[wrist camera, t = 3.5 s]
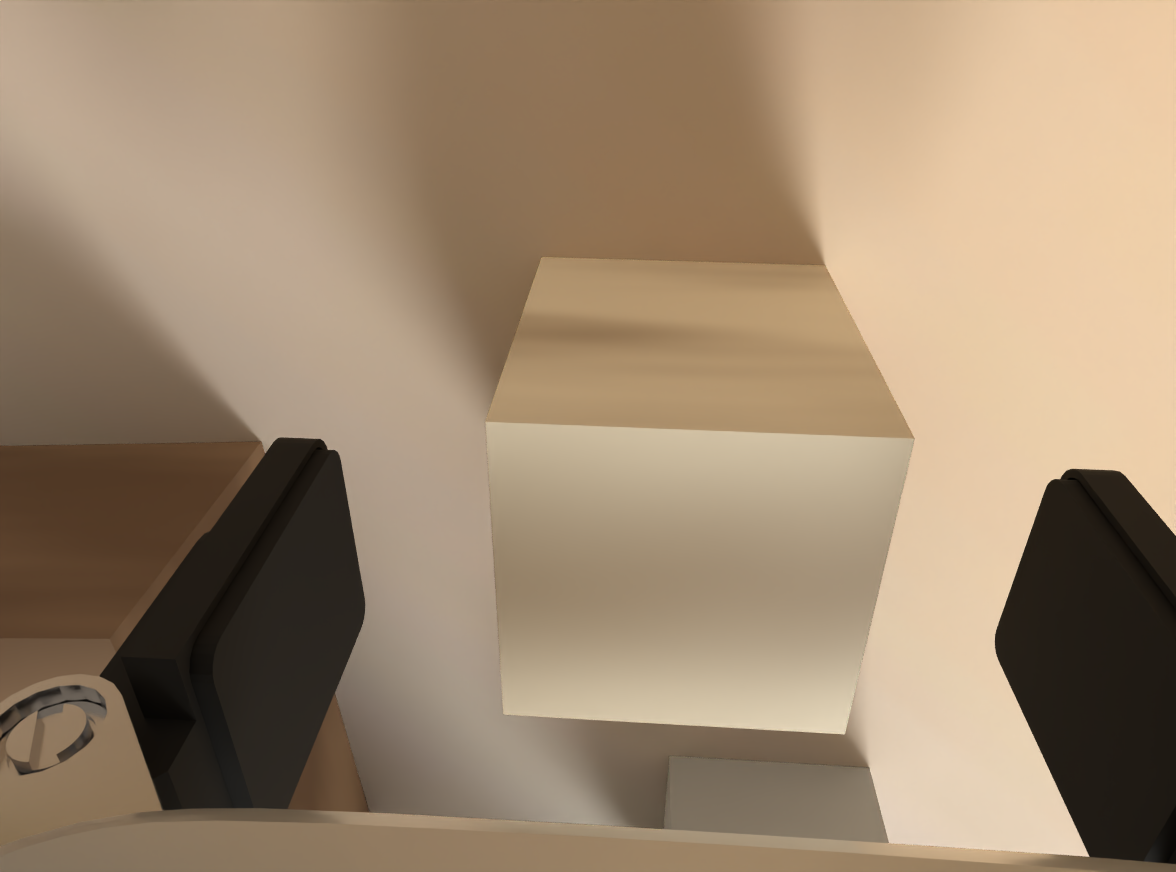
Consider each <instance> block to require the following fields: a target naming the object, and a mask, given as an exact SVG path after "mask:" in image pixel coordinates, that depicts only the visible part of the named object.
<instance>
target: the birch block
mask: <svg viewBox="0 0 1176 872" xmlns="http://www.w3.org/2000/svg"><path fill="white" fill-rule="evenodd" d="M485 426H486V443H487V459H488V475H489V491H490V507H491V524H492V540H493V556H494V572H495V589H496V605H497V621H498V637H499V653H500V670H501V686H502V702H503V715H517V716H534V717H551V718H569V719H586V720H604V721H621V722H639V723H656V724H673V725H691V726H708V727H726V728H743V729H761V730H778V731H795V732H813V733H830V734H845V732H846V728H847V723H848V719H849V715H850V711H851V707H852V702H853V698H854V694H855V690H856V685H857V681H858V677H859V673H860V668H861V664H862V660H863V656H864V651H865V647H866V643H867V639H868V635H869V630H870V626H871V622H872V618H873V613H874V609H875V605H876V601H877V596H878V592H879V588H880V584H881V579H882V575H883V571H884V567H885V563H886V558H887V554H888V550H889V546H890V541H891V537H892V533H893V529H894V524H895V520H896V516H897V512H898V507H899V503H900V499H901V495H902V490H903V486H904V482H905V478H906V474H907V469H908V465H909V461H910V457H911V452H912V448H913V444H914V440H915V438H914V436H913V434H912V432H911V431H910V429H909V427H908V425H907V423H906V421H905V419H904V417H903V415H902V413H901V411H900V409H899V407H898V405H897V403H896V401H895V400H894V398H893V396H892V394H891V392H890V390H889V388H888V386H887V384H886V382H885V380H884V378H883V376H882V374H881V372H880V370H879V369H878V367H877V365H876V363H875V361H874V359H873V357H872V355H871V353H870V351H869V349H868V347H867V345H866V343H865V341H864V340H863V338H862V336H861V334H860V332H859V330H858V328H857V326H856V324H855V322H854V320H853V318H852V316H851V314H850V312H849V310H848V309H847V307H846V305H845V303H844V301H843V299H842V297H841V295H840V293H839V291H838V289H837V287H836V285H835V283H834V281H833V279H832V278H831V276H830V274H829V272H828V270H827V268H826V266H825V265H798V264H764V263H730V262H696V261H662V260H628V259H594V258H560V257H541V260H540V263H539V266H538V269H537V272H536V275H535V278H534V281H533V283H532V286H531V289H530V292H529V295H528V298H527V301H526V304H525V307H524V310H523V313H522V316H521V319H520V322H519V324H518V327H517V330H516V333H515V336H514V339H513V342H512V345H511V348H510V351H509V354H508V357H507V360H506V362H505V365H504V368H503V371H502V374H501V377H500V380H499V383H498V386H497V389H496V392H495V395H494V398H493V401H492V403H491V406H490V409H489V412H488V415H487V418H486V421H485Z"/></svg>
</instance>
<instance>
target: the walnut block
mask: <svg viewBox="0 0 1176 872" xmlns="http://www.w3.org/2000/svg"><path fill="white" fill-rule="evenodd" d="M264 455H265V453H264V449H263V446H262V442H211V443H150V444H89V445H29V446H0V703H1V702H2V701H4V700H5V699H6V698H8V697H9V696H11V695H13V694H15V693H17V692H19V691H21V690H23V689H25V688H27V687H29V686H31V685H33V684H35V683H38V682H41V681H45V680H48V679H51V678H55V677H58V676H66V675H75V674H85V675H93V676H100V674H101V673H102V672H103V670H104V669H105V667H106V666H107V665H108V663H109V662H110V660H111V659H112V658H113V656H114V655H115V654H116V652H117V651H118V649H119V648H120V647H121V645H122V644H123V643H124V641H125V640H126V638H127V637H128V636H129V634H130V633H131V632H132V630H133V629H134V627H135V626H136V625H137V623H138V622H139V620H140V619H141V618H142V616H143V615H144V614H145V612H146V611H147V609H148V608H149V607H150V605H151V604H152V603H153V601H154V600H155V598H156V597H157V596H158V594H159V593H160V592H161V590H162V589H163V587H164V586H165V585H166V583H167V582H168V580H169V579H170V578H171V576H172V575H173V574H174V572H175V571H176V569H177V568H178V567H179V565H180V564H181V563H182V561H183V560H184V558H185V557H186V556H187V554H188V553H189V552H190V550H191V549H192V547H193V546H194V545H195V543H196V542H197V541H198V540H199V538H200V537H201V536H202V535H203V534H204V533H206V532H209V531H210V530H211V529H212V528H213V526H214V525H215V524H216V522H217V521H218V519H219V518H220V517H221V515H222V514H223V512H224V511H225V510H226V508H227V507H228V505H229V504H230V503H231V501H232V500H233V498H234V497H235V496H236V494H237V493H238V491H239V490H240V489H241V487H242V486H243V484H244V483H245V482H246V480H247V479H248V477H249V476H250V475H251V473H252V472H253V470H254V469H255V468H256V466H257V465H258V463H259V462H260V461H261V459H262V458H263V456H264ZM288 809H293V810H318V811H343V812H368V813H370V812H369V809H368V806H367V802H366V799H365V795H364V792H363V788H362V785H361V782H360V778H359V775H358V771H357V768H356V764H355V761H354V758H353V754H352V751H351V747H350V744H349V740H348V737H347V734H346V730H345V727H344V723H343V720H342V717H341V713H340V710H339V706H338V703H337V699H336V696H335V694H334V696H333V699H332V701H331V703H330V706H329V708H328V711H327V713H326V716H325V718H324V721H323V723H322V726H321V728H320V730H319V733H318V735H317V738H316V740H315V743H314V745H313V748H312V750H311V753H310V755H309V757H308V760H307V762H306V765H305V767H304V770H303V772H302V775H301V777H300V780H299V782H298V785H297V787H296V789H295V792H294V794H293V797H292V799H291V802H290V804H289V807H288Z"/></svg>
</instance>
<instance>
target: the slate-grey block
mask: <svg viewBox="0 0 1176 872" xmlns="http://www.w3.org/2000/svg"><path fill="white" fill-rule="evenodd" d="M663 829H670V830H686V831H702V832H719V833H735V834H751V835H767V836H782V837H798V838H814V839H830V840H846V841H862V842H877V843H889V842H888V838H887V834H886V830H885V826H884V823H883V819H882V815H881V811H880V807H879V803H878V799H877V796H876V792H875V788H874V784H873V780H872V776H871V772H870V768H867V767H850V766H833V765H817V764H800V763H783V762H766V761H750V760H733V759H716V758H700V757H683V756H669V767H668V779H667V791H666V803H665V815H664V827H663Z"/></svg>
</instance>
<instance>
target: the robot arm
mask: <svg viewBox="0 0 1176 872" xmlns="http://www.w3.org/2000/svg"><path fill="white" fill-rule="evenodd" d="M364 614H365V598H364V592H363V586H362V581H361V575H360V569H359V563H358V558H357V552H356V546H355V540H354V535H353V529H352V523H351V517H350V511H349V506H348V500H347V494H346V488H345V483H344V477H343V471H342V465H341V460H340V456H339V454H338V452H337V451H335V450H327V446H326V445H325V443H324V441H322V440H321V439H305V438H278V439H277V440H275V441H274V442H273V444H272V445H271V447H270V448H269V449H268V451H267V452H266V454H265V455H264V456H263V458H262V459H261V461H260V462H259V463H258V465H257V466H256V468H255V469H254V470H253V472H252V473H251V475H250V476H249V477H248V479H247V480H246V482H245V483H244V484H243V486H242V487H241V489H240V490H239V491H238V493H237V494H236V496H235V497H234V498H233V500H232V501H231V503H230V504H229V505H228V507H227V508H226V510H225V511H224V512H223V514H222V515H221V517H220V518H219V519H218V521H217V522H216V524H215V525H214V526H213V528H212V529H211V530H210V531H209V532H206V533H204V534H203V535H202V536H201V537H200V538H199V540H198V541H197V542H196V543H195V545H194V546H193V547H192V549H191V550H190V552H189V553H188V554H187V556H186V557H185V558H184V560H183V561H182V563H181V564H180V565H179V567H178V568H177V569H176V571H175V572H174V574H173V575H172V576H171V578H170V579H169V580H168V582H167V583H166V585H165V586H164V587H163V589H162V590H161V592H160V593H159V594H158V596H157V597H156V598H155V600H154V601H153V603H152V604H151V605H150V607H149V608H148V609H147V611H146V612H145V614H144V615H143V616H142V618H141V619H140V620H139V622H138V623H137V625H136V626H135V627H134V629H133V630H132V632H131V633H130V634H129V636H128V637H127V638H126V640H125V641H124V643H123V644H122V645H121V647H120V648H119V649H118V651H117V652H116V654H115V655H114V656H113V658H112V659H111V660H110V662H109V663H108V665H107V666H106V667H105V669H104V670H103V672H102V673H101V674H100V676H93V675H85V674H75V675H66V676H58V677H55V678H51V679H48V680H45V681H41V682H38V683H35V684H33V685H31V686H29V687H27V688H25V689H23V690H21V691H19V692H17V693H15V694H13V695H11V696H9V697H8V698H6V699H5V700H4V701H2V702H1V703H0V872H1176V536H1175V535H1174V533H1173V532H1172V531H1171V530H1170V529H1169V527H1168V526H1167V525H1166V524H1165V523H1164V522H1163V520H1162V519H1161V518H1160V517H1159V516H1158V514H1157V513H1156V512H1155V511H1154V510H1153V508H1152V507H1151V506H1150V505H1149V504H1148V503H1147V501H1146V500H1145V499H1144V498H1143V497H1142V495H1141V494H1140V493H1139V492H1138V491H1137V489H1136V488H1135V487H1134V486H1133V485H1132V483H1131V482H1130V481H1129V480H1128V479H1127V478H1126V476H1124V475H1123V474H1122V473H1121V472H1119V471H1113V470H1088V469H1070V470H1067V471H1066V472H1065V473H1064V474H1063V475H1062V477H1061V479H1054V480H1052V481H1051V482H1050V483H1049V484H1048V485H1047V487H1046V489H1045V492H1044V495H1043V498H1042V501H1041V504H1040V506H1039V509H1038V512H1037V515H1036V518H1035V521H1034V524H1033V527H1032V529H1031V532H1030V535H1029V538H1028V541H1027V544H1026V547H1025V549H1024V552H1023V555H1022V558H1021V561H1020V564H1019V567H1018V570H1017V572H1016V575H1015V578H1014V581H1013V584H1012V587H1011V590H1010V592H1009V595H1008V598H1007V601H1006V604H1005V607H1004V610H1003V613H1002V615H1001V618H1000V621H999V624H998V627H997V630H996V634H995V649H996V654H997V657H998V660H999V662H1000V665H1001V667H1002V669H1003V671H1004V673H1005V675H1006V677H1007V680H1008V682H1009V684H1010V686H1011V688H1012V690H1013V693H1014V695H1015V697H1016V699H1017V701H1018V703H1019V705H1020V708H1021V710H1022V712H1023V714H1024V716H1025V718H1026V721H1027V723H1028V725H1029V727H1030V729H1031V731H1032V734H1033V736H1034V738H1035V740H1036V742H1037V744H1038V746H1039V749H1040V751H1041V753H1042V755H1043V757H1044V759H1045V762H1046V764H1047V766H1048V768H1049V770H1050V772H1051V774H1052V777H1053V779H1054V781H1055V783H1056V785H1057V787H1058V790H1059V792H1060V794H1061V796H1062V798H1063V800H1064V802H1065V805H1066V807H1067V809H1068V811H1069V813H1070V815H1071V818H1072V820H1073V822H1074V824H1075V826H1076V828H1077V830H1078V833H1079V835H1080V837H1081V839H1082V841H1083V843H1084V846H1085V848H1086V850H1087V852H1088V854H1089V856H1090V857H1083V856H1069V855H1054V854H1039V853H1025V852H1010V851H995V850H980V849H965V848H951V847H936V846H921V845H906V844H891V843H877V842H862V841H846V840H830V839H814V838H798V837H782V836H767V835H751V834H735V833H719V832H702V831H686V830H670V829H653V828H637V827H621V826H604V825H587V824H569V823H552V822H534V821H516V820H499V819H481V818H463V817H446V816H428V815H410V814H393V813H368V812H343V811H318V810H293V809H288V807H289V804H290V802H291V799H292V797H293V794H294V792H295V789H296V787H297V785H298V782H299V780H300V777H301V775H302V772H303V770H304V767H305V765H306V762H307V760H308V757H309V755H310V753H311V750H312V748H313V745H314V743H315V740H316V738H317V735H318V733H319V730H320V728H321V726H322V723H323V721H324V718H325V716H326V713H327V711H328V708H329V706H330V703H331V701H332V699H333V696H334V694H335V691H336V689H337V686H338V684H339V681H340V679H341V676H342V674H343V672H344V669H345V667H346V664H347V662H348V659H349V657H350V654H351V652H352V649H353V647H354V645H355V642H356V640H357V637H358V635H359V632H360V630H361V627H362V624H363V620H364Z"/></svg>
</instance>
